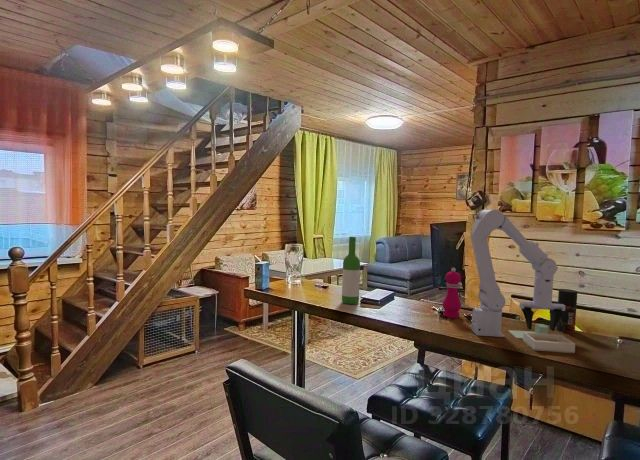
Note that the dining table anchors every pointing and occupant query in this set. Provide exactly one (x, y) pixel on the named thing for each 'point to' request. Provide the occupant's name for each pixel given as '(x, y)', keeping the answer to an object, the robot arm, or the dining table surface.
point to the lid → (538, 329)
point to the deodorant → (567, 310)
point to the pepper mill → (452, 295)
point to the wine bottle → (351, 275)
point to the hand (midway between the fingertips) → (540, 329)
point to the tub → (549, 342)
